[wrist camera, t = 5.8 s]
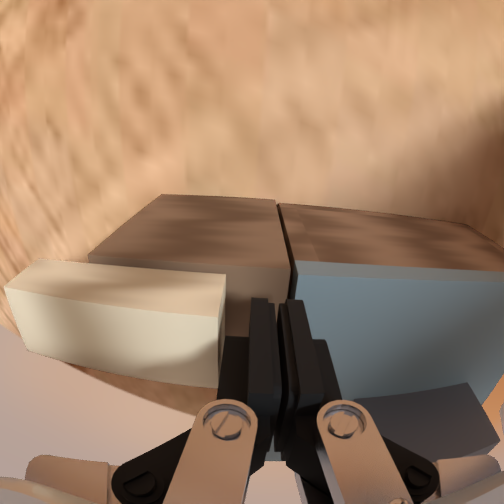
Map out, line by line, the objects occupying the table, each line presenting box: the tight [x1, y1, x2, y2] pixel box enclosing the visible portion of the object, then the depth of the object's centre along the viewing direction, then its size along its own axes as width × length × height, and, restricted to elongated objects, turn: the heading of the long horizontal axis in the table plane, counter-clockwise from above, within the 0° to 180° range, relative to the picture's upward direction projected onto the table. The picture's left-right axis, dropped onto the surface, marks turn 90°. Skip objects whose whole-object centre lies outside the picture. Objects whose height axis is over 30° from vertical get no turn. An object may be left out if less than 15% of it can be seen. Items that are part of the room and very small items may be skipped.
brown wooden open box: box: [88, 194, 504, 337], centre depth 18 cm, size 24×14×10 cm, turn 87°
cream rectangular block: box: [4, 258, 226, 389], centre depth 10 cm, size 8×3×2 cm, turn 87°
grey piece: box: [265, 260, 504, 463], centre depth 12 cm, size 16×14×7 cm
